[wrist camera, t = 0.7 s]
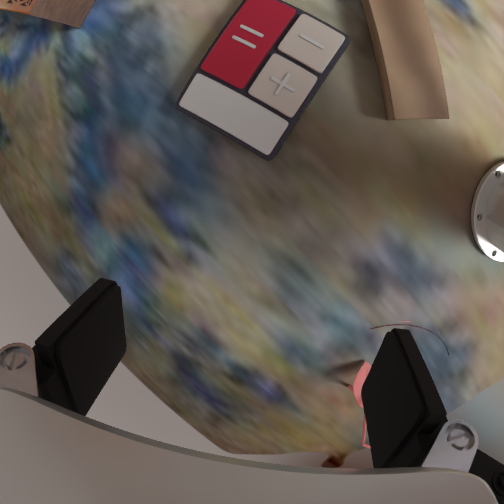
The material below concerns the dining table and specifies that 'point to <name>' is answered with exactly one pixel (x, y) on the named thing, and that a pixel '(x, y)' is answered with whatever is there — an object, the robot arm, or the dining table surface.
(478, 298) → the dining table surface
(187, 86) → the calculator
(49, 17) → the tissue box cover
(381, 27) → the brown wooden plank
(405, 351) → the robot arm
